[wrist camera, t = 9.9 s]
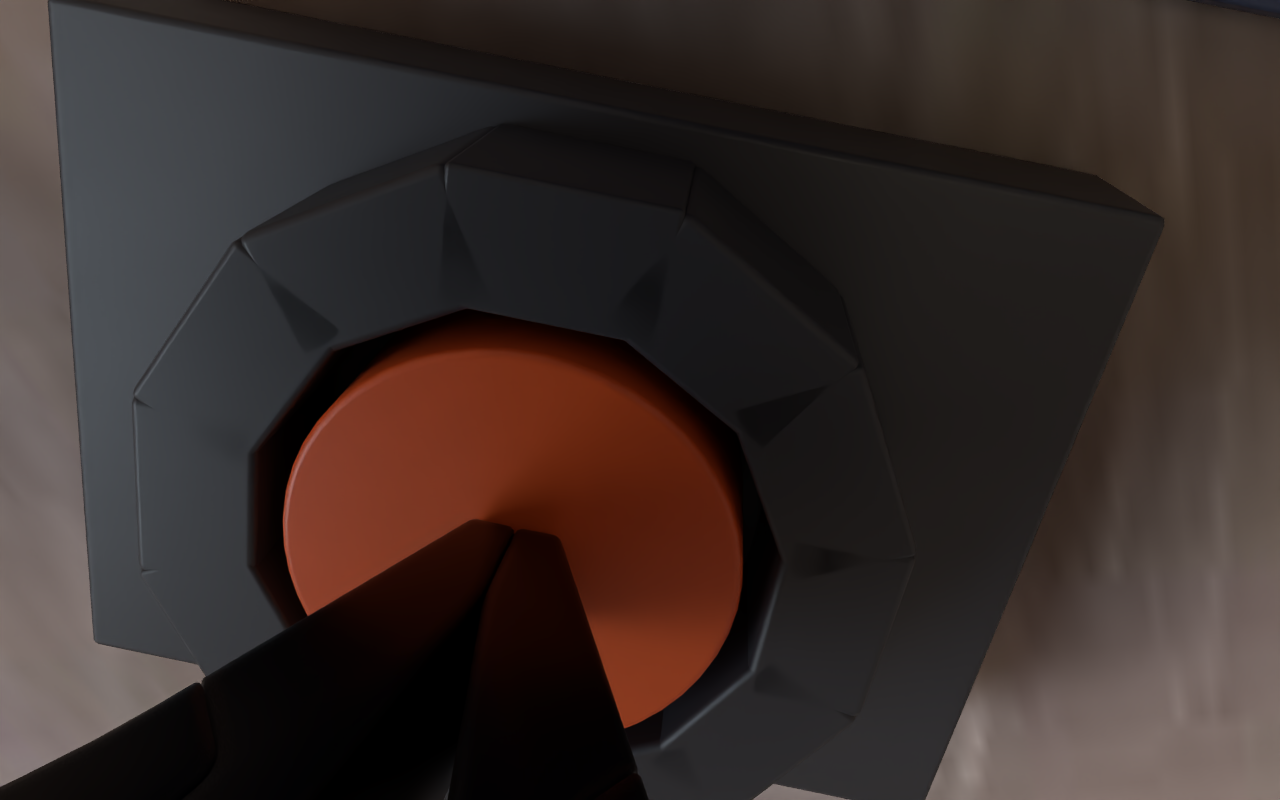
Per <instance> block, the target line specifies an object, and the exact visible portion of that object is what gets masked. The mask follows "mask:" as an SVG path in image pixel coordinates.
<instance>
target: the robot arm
mask: <svg viewBox="0 0 1280 800" xmlns="http://www.w3.org/2000/svg"><path fill="white" fill-rule="evenodd" d="M449 787H450V788H449ZM448 789H449V794H448V800H649V799H648V796H647V793H646V790H645V787H644V784H643V781H642V778H641V776H640V775H638V767H637V764H636V761H635V759H634V756H633V753H632V750H631V747H630V744H629V741H628V738H627V735H626V732H625V729H624V726H623V723H622V720H621V717H620V714H619V711H618V708H617V705H616V702H615V699H614V696H613V693H612V690H611V687H610V684H609V681H608V678H607V675H606V673H605V670H604V667H603V664H602V661H601V658H600V655H599V652H598V649H597V646H596V643H595V640H594V637H593V634H592V631H591V628H590V625H589V622H588V619H587V616H586V613H585V610H584V607H583V604H582V601H581V598H580V595H579V592H578V589H577V586H576V584H575V581H574V578H573V575H572V572H571V569H570V566H569V563H568V560H567V557H566V554H565V551H564V548H563V545H562V542H561V540H560V539H559V538H558V537H557V536H555V535H552V534H547V533H542V532H537V531H532V530H527V529H520V530H517V531H516V532H515V534H514V531H513V529H512V528H511V527H510V526H507V525H502V524H497V523H493V522H488V521H483V520H478V519H472V520H469V521H467V522H465V523H464V524H462V525H460V526H459V527H457V528H455V529H454V530H452V531H450V532H449V533H447V534H445V535H444V536H442V537H440V538H439V539H437V540H435V541H433V542H432V543H430V544H428V545H427V546H425V547H423V548H422V549H420V550H418V551H417V552H415V553H413V554H412V555H410V556H408V557H406V558H405V559H403V560H401V561H400V562H398V563H396V564H395V565H393V566H391V567H390V568H388V569H386V570H385V571H383V572H381V573H379V574H378V575H376V576H374V577H373V578H371V579H369V580H368V581H366V582H364V583H363V584H361V585H359V586H358V587H356V588H354V589H353V590H351V591H349V592H347V593H346V594H344V595H342V596H341V597H339V598H337V599H336V600H334V601H332V602H331V603H329V604H327V605H326V606H324V607H322V608H320V609H319V610H317V611H315V612H314V613H312V614H310V615H309V616H307V617H305V618H304V619H302V620H300V621H299V622H297V623H295V624H294V625H292V626H290V627H288V628H287V629H285V630H283V631H282V632H280V633H278V634H277V635H275V636H273V637H272V638H270V639H268V640H267V641H265V642H263V643H261V644H260V645H258V646H256V647H255V648H253V649H251V650H250V651H248V652H246V653H245V654H243V655H241V656H240V657H238V658H236V659H235V660H233V661H231V662H229V663H228V664H226V665H224V666H223V667H221V668H219V669H218V670H216V671H214V672H213V673H211V674H209V675H208V676H206V677H204V678H203V680H202V685H201V684H200V683H194V684H192V685H190V686H188V687H187V688H185V689H183V690H182V691H180V692H178V693H176V694H175V695H173V696H171V697H170V698H168V699H166V700H165V701H163V702H161V703H160V704H158V705H156V706H154V707H153V708H151V709H149V710H147V711H145V712H144V713H142V714H140V715H138V716H137V717H135V718H133V719H131V720H129V721H128V722H126V723H124V724H122V725H120V726H119V727H117V728H115V729H113V730H112V731H110V732H108V733H106V734H104V735H103V736H101V737H99V738H97V739H95V740H93V741H91V742H90V743H88V744H86V745H84V746H82V747H80V748H78V749H76V750H74V751H72V752H70V753H68V754H66V755H64V756H62V757H60V758H58V759H56V760H54V761H52V762H50V763H48V764H46V765H44V766H42V767H40V768H38V769H36V770H34V771H32V772H30V773H28V774H26V775H24V776H22V777H20V778H18V779H16V780H14V781H12V782H10V783H8V784H6V785H3V786H1V787H0V800H444V798H445V796H446V794H447V791H448Z"/></svg>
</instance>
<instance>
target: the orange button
mask: <svg viewBox="0 0 1280 800" xmlns="http://www.w3.org/2000/svg"><path fill="white" fill-rule="evenodd" d="M472 519H478V520H483V521H488V522H493V523H497V524H502V525H507V526H510V527H511V528H512V529H513V531H514V534H515V532H516V531H517V530H520V529H527V530H532V531H537V532H542V533H547V534H552V535H555V536H557V537H558V538H559V539H560V540H561V542H562V545H563V548H564V551H565V554H566V557H567V560H568V563H569V566H570V569H571V572H572V575H573V578H574V581H575V584H576V586H577V589H578V592H579V595H580V598H581V601H582V604H583V607H584V610H585V613H586V616H587V619H588V622H589V625H590V628H591V631H592V634H593V637H594V640H595V643H596V646H597V649H598V652H599V655H600V658H601V661H602V664H603V667H604V670H605V673H606V675H607V678H608V681H609V684H610V687H611V690H612V693H613V696H614V699H615V702H616V705H617V708H618V711H619V714H620V717H621V720H622V723H623V726H624V729H625V728H627V727H630V726H632V725H635V724H637V723H639V722H641V721H643V720H645V719H647V718H649V717H650V716H652V715H654V714H656V713H658V712H659V711H661V710H663V709H664V708H665V707H667V706H668V705H669V704H671V703H672V702H674V701H675V700H676V699H678V698H679V697H680V696H682V695H683V694H684V693H685V692H686V691H687V690H688V689H689V688H690V687H691V686H692V685H693V684H694V683H695V682H696V681H697V680H698V679H699V678H700V677H701V676H702V674H703V673H704V672H705V671H706V669H707V668H708V667H709V665H710V664H711V663H712V661H713V660H714V659H715V657H716V656H717V655H718V653H719V651H720V649H721V647H722V646H723V644H724V642H725V640H726V638H727V636H728V635H729V632H730V630H731V627H732V624H733V621H734V619H735V616H736V613H737V610H738V605H739V600H740V595H741V590H742V582H743V473H742V465H741V457H740V451H739V447H738V443H737V440H736V436H735V432H734V431H733V430H732V429H731V428H730V427H729V426H727V425H726V424H725V423H724V422H723V421H721V420H720V419H719V418H718V417H717V416H715V415H714V414H713V413H712V412H710V411H709V410H708V409H707V408H706V407H704V406H703V405H702V404H701V403H700V402H698V401H697V400H696V399H695V398H693V397H692V396H691V395H690V394H689V393H687V392H686V391H685V390H684V389H683V388H681V387H680V386H679V385H678V384H676V383H675V382H674V381H673V380H672V379H670V378H669V377H668V376H667V375H666V374H664V373H663V372H662V371H661V370H660V369H658V368H657V367H656V366H655V365H653V364H652V363H651V362H650V361H649V360H647V359H646V358H645V357H644V356H643V355H641V354H640V353H639V352H638V351H636V350H635V349H634V348H633V347H632V346H630V345H629V344H628V343H627V342H626V341H624V340H620V339H615V338H610V337H605V336H600V335H595V334H590V333H585V332H580V331H576V330H571V329H566V328H561V327H556V326H551V325H546V324H541V323H536V322H531V321H526V320H521V319H516V318H512V317H507V316H502V315H497V314H492V313H487V312H482V311H477V310H472V309H464V310H461V311H458V312H455V313H452V314H448V315H445V316H442V317H439V318H436V319H433V320H430V321H427V322H424V323H421V324H418V325H415V326H412V327H408V328H405V329H403V330H402V331H401V332H399V333H398V334H397V335H396V336H394V337H393V338H392V339H391V340H390V341H389V342H388V343H387V344H386V346H385V347H384V348H383V349H382V350H381V351H380V352H379V353H378V354H377V355H376V356H375V357H374V359H373V360H372V361H371V362H370V363H369V364H368V365H367V366H366V367H365V369H364V370H363V371H362V372H361V373H360V374H359V375H358V376H357V377H356V379H355V380H354V381H353V382H352V383H351V384H350V385H349V386H348V387H347V389H346V390H345V391H344V392H343V393H342V394H341V395H340V396H339V397H338V399H337V400H336V401H335V402H334V403H333V404H332V405H331V406H330V407H329V409H328V410H327V411H326V412H325V413H324V414H323V415H322V416H321V417H320V419H319V420H318V421H317V422H316V424H315V425H314V427H313V428H312V430H311V431H310V433H309V434H308V436H307V437H306V439H305V440H304V442H303V444H302V446H301V448H300V450H299V453H298V455H297V457H296V459H295V461H294V464H293V466H292V469H291V473H290V477H289V480H288V484H287V488H286V492H285V501H284V511H283V536H284V548H285V554H286V559H287V564H288V569H289V573H290V575H291V578H292V581H293V584H294V587H295V590H296V593H297V596H298V598H299V600H300V602H301V604H302V606H303V608H304V610H305V612H306V614H307V616H309V615H310V614H312V613H314V612H315V611H317V610H319V609H320V608H322V607H324V606H326V605H327V604H329V603H331V602H332V601H334V600H336V599H337V598H339V597H341V596H342V595H344V594H346V593H347V592H349V591H351V590H353V589H354V588H356V587H358V586H359V585H361V584H363V583H364V582H366V581H368V580H369V579H371V578H373V577H374V576H376V575H378V574H379V573H381V572H383V571H385V570H386V569H388V568H390V567H391V566H393V565H395V564H396V563H398V562H400V561H401V560H403V559H405V558H406V557H408V556H410V555H412V554H413V553H415V552H417V551H418V550H420V549H422V548H423V547H425V546H427V545H428V544H430V543H432V542H433V541H435V540H437V539H439V538H440V537H442V536H444V535H445V534H447V533H449V532H450V531H452V530H454V529H455V528H457V527H459V526H460V525H462V524H464V523H465V522H467V521H469V520H472Z"/></svg>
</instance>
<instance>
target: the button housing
mask: <svg viewBox="0 0 1280 800" xmlns="http://www.w3.org/2000/svg"><path fill="white" fill-rule="evenodd" d="M48 11H49V25H50V39H51V53H52V67H53V81H54V94H55V108H56V122H57V136H58V150H59V164H60V178H61V191H62V205H63V219H64V233H65V247H66V261H67V275H68V289H69V302H70V316H71V330H72V344H73V358H74V372H75V386H76V400H77V413H78V427H79V441H80V455H81V469H82V483H83V497H84V511H85V524H86V538H87V552H88V566H89V580H90V594H91V608H92V622H93V635H94V640H95V642H96V643H98V644H102V645H107V646H112V647H117V648H121V649H126V650H131V651H136V652H141V653H145V654H150V655H155V656H160V657H165V658H170V659H174V660H179V661H184V662H189V663H194V664H198V665H199V666H200V668H201V670H202V671H203V673H204V674H205V676H208V675H209V674H211V673H213V672H214V671H216V670H218V669H219V668H221V667H223V666H224V665H226V664H228V663H229V662H231V661H233V660H235V659H236V658H238V657H240V656H241V655H243V654H245V653H246V652H248V651H250V650H251V649H253V648H255V647H256V646H258V645H260V644H261V643H263V642H265V641H267V640H268V639H270V638H272V637H273V636H275V635H277V634H278V633H280V632H282V631H283V630H285V629H287V628H288V627H290V626H292V625H294V624H295V623H297V622H299V621H300V620H302V619H304V618H305V617H307V614H306V612H305V610H304V608H303V606H302V604H301V602H300V600H299V598H298V596H297V593H296V590H295V587H294V584H293V581H292V578H291V575H290V573H289V569H288V564H287V559H286V554H285V548H284V536H283V511H284V501H285V492H286V488H287V484H288V480H289V477H290V473H291V469H292V466H293V464H294V461H295V459H296V457H297V455H298V453H299V450H300V448H301V446H302V444H303V442H304V440H305V439H306V437H307V436H308V434H309V433H310V431H311V430H312V428H313V427H314V425H315V424H316V422H317V421H318V420H319V419H320V417H321V416H322V415H323V414H324V413H325V412H326V411H327V410H328V409H329V407H330V406H331V405H332V404H333V403H334V402H335V401H336V400H337V399H338V397H339V396H340V395H341V394H342V393H343V392H344V391H345V390H346V389H347V387H348V386H349V385H350V384H351V383H352V382H353V381H354V380H355V379H356V377H357V376H358V375H359V374H360V373H361V372H362V371H363V370H364V369H365V367H366V366H367V365H368V364H369V363H370V362H371V361H372V360H373V359H374V357H375V356H376V355H377V354H378V353H379V352H380V351H381V350H382V349H383V348H384V347H385V346H386V344H387V343H388V342H389V341H390V340H391V339H392V338H393V337H394V336H396V335H397V334H398V333H399V332H401V331H402V330H403V329H405V328H408V327H412V326H415V325H418V324H421V323H424V322H427V321H430V320H433V319H436V318H439V317H442V316H445V315H448V314H452V313H455V312H458V311H461V310H464V309H472V310H477V311H482V312H487V313H492V314H497V315H502V316H507V317H512V318H516V319H521V320H526V321H531V322H536V323H541V324H546V325H551V326H556V327H561V328H566V329H571V330H576V331H580V332H585V333H590V334H595V335H600V336H605V337H610V338H615V339H620V340H624V341H626V342H627V343H628V344H629V345H630V346H632V347H633V348H634V349H635V350H636V351H638V352H639V353H640V354H641V355H643V356H644V357H645V358H646V359H647V360H649V361H650V362H651V363H652V364H653V365H655V366H656V367H657V368H658V369H660V370H661V371H662V372H663V373H664V374H666V375H667V376H668V377H669V378H670V379H672V380H673V381H674V382H675V383H676V384H678V385H679V386H680V387H681V388H683V389H684V390H685V391H686V392H687V393H689V394H690V395H691V396H692V397H693V398H695V399H696V400H697V401H698V402H700V403H701V404H702V405H703V406H704V407H706V408H707V409H708V410H709V411H710V412H712V413H713V414H714V415H715V416H717V417H718V418H719V419H720V420H721V421H723V422H724V423H725V424H726V425H727V426H729V427H730V428H731V429H732V430H733V431H734V432H735V436H736V440H737V443H738V447H739V451H740V457H741V465H742V473H743V582H742V590H741V595H740V600H739V605H738V610H737V613H736V616H735V619H734V621H733V624H732V627H731V630H730V632H729V635H728V636H727V638H726V640H725V642H724V644H723V646H722V647H721V649H720V651H719V653H718V655H717V656H716V657H715V659H714V660H713V661H712V663H711V664H710V665H709V667H708V668H707V669H706V671H705V672H704V673H703V674H702V676H701V677H700V678H699V679H698V680H697V681H696V682H695V683H694V684H693V685H692V686H691V687H690V688H689V689H688V690H687V691H686V692H685V693H684V694H683V695H682V696H680V697H679V698H678V699H676V700H675V701H674V702H672V703H671V704H669V705H668V706H667V707H665V708H664V709H663V710H661V711H659V712H658V713H656V714H654V715H652V716H650V717H649V718H647V719H645V720H643V721H641V722H639V723H637V724H635V725H632V726H630V727H627V728H625V732H626V735H627V738H628V741H629V744H630V747H631V750H632V753H633V756H634V759H635V761H636V764H637V767H638V775H640V776H641V778H642V781H643V784H644V787H645V790H646V793H647V796H648V799H649V800H752V799H754V798H755V797H756V796H758V795H759V794H760V793H762V792H763V791H764V790H766V789H767V788H768V787H770V786H771V785H772V784H778V785H783V786H787V787H792V788H797V789H802V790H807V791H811V792H816V793H821V794H826V795H831V796H836V797H840V798H845V799H850V800H925V799H926V796H927V794H928V792H929V789H930V787H931V784H932V782H933V780H934V777H935V775H936V772H937V770H938V768H939V765H940V763H941V760H942V758H943V756H944V753H945V751H946V748H947V746H948V744H949V741H950V739H951V736H952V734H953V732H954V729H955V727H956V724H957V722H958V720H959V717H960V715H961V712H962V710H963V708H964V705H965V703H966V700H967V698H968V696H969V693H970V691H971V688H972V686H973V684H974V681H975V679H976V676H977V674H978V672H979V669H980V667H981V664H982V662H983V660H984V657H985V655H986V652H987V650H988V648H989V645H990V643H991V640H992V638H993V636H994V633H995V631H996V628H997V626H998V624H999V621H1000V619H1001V616H1002V614H1003V612H1004V609H1005V607H1006V604H1007V602H1008V600H1009V597H1010V595H1011V592H1012V590H1013V588H1014V585H1015V583H1016V580H1017V578H1018V576H1019V573H1020V571H1021V568H1022V566H1023V564H1024V561H1025V559H1026V556H1027V554H1028V552H1029V549H1030V547H1031V544H1032V542H1033V540H1034V537H1035V535H1036V532H1037V530H1038V528H1039V525H1040V523H1041V520H1042V518H1043V516H1044V513H1045V511H1046V508H1047V506H1048V504H1049V501H1050V499H1051V496H1052V494H1053V492H1054V489H1055V487H1056V484H1057V482H1058V480H1059V477H1060V475H1061V472H1062V470H1063V468H1064V465H1065V463H1066V460H1067V458H1068V456H1069V453H1070V451H1071V448H1072V446H1073V444H1074V441H1075V439H1076V436H1077V434H1078V432H1079V429H1080V427H1081V424H1082V422H1083V420H1084V417H1085V415H1086V412H1087V410H1088V408H1089V405H1090V403H1091V400H1092V398H1093V395H1094V393H1095V391H1096V388H1097V386H1098V383H1099V381H1100V379H1101V376H1102V374H1103V371H1104V369H1105V367H1106V364H1107V362H1108V359H1109V357H1110V355H1111V352H1112V350H1113V347H1114V345H1115V343H1116V340H1117V338H1118V335H1119V333H1120V331H1121V328H1122V326H1123V323H1124V321H1125V319H1126V316H1127V314H1128V311H1129V309H1130V307H1131V304H1132V302H1133V299H1134V297H1135V295H1136V292H1137V290H1138V287H1139V285H1140V283H1141V280H1142V278H1143V275H1144V273H1145V271H1146V268H1147V266H1148V263H1149V261H1150V259H1151V256H1152V254H1153V251H1154V249H1155V247H1156V244H1157V242H1158V239H1159V237H1160V235H1161V232H1162V230H1163V227H1164V218H1162V217H1161V216H1160V215H1158V214H1157V213H1155V212H1154V211H1152V210H1150V209H1149V208H1147V207H1146V206H1144V205H1142V204H1141V203H1139V202H1138V201H1136V200H1135V199H1133V198H1131V197H1130V196H1128V195H1127V194H1125V193H1124V192H1122V191H1120V190H1119V189H1117V188H1116V187H1114V186H1113V185H1111V184H1109V183H1108V182H1106V181H1105V180H1103V179H1101V178H1100V177H1098V176H1097V175H1092V174H1087V173H1082V172H1077V171H1072V170H1067V169H1062V168H1057V167H1052V166H1047V165H1042V164H1037V163H1032V162H1027V161H1022V160H1017V159H1012V158H1007V157H1002V156H997V155H992V154H987V153H982V152H977V151H972V150H967V149H962V148H957V147H952V146H947V145H943V144H938V143H933V142H928V141H923V140H918V139H913V138H908V137H903V136H898V135H893V134H888V133H883V132H878V131H873V130H868V129H863V128H858V127H853V126H848V125H843V124H838V123H833V122H828V121H823V120H818V119H813V118H808V117H803V116H798V115H793V114H788V113H783V112H778V111H773V110H768V109H763V108H758V107H753V106H748V105H743V104H738V103H733V102H728V101H723V100H718V99H713V98H708V97H703V96H698V95H693V94H688V93H683V92H678V91H673V90H668V89H663V88H658V87H654V86H649V85H644V84H639V83H634V82H629V81H624V80H619V79H614V78H609V77H604V76H599V75H594V74H589V73H584V72H579V71H574V70H569V69H564V68H559V67H554V66H549V65H544V64H539V63H534V62H529V61H524V60H519V59H514V58H509V57H504V56H499V55H494V54H489V53H484V52H479V51H474V50H469V49H464V48H459V47H454V46H449V45H444V44H439V43H434V42H429V41H424V40H419V39H414V38H409V37H404V36H399V35H394V34H389V33H384V32H379V31H374V30H370V29H365V28H360V27H355V26H350V25H345V24H340V23H335V22H330V21H325V20H320V19H315V18H310V17H305V16H300V15H295V14H290V13H285V12H280V11H275V10H270V9H265V8H260V7H255V6H250V5H245V4H240V3H235V2H230V1H225V0H48ZM449 788H450V787H449ZM448 794H449V789H448V791H447V794H446V796H445V798H444V800H448Z"/></svg>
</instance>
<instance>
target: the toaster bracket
mask: <svg viewBox="0 0 1280 800" xmlns="http://www.w3.org/2000/svg"><path fill="white" fill-rule="evenodd" d="M1188 1H1193V2H1198V3H1203V4H1208V5H1213V6H1218V7H1223V8H1228V9H1233V10H1239V11H1244V12H1249V13H1254V14H1259V15H1264V16H1269V17H1274V18H1279V19H1280V0H1188Z"/></svg>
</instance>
